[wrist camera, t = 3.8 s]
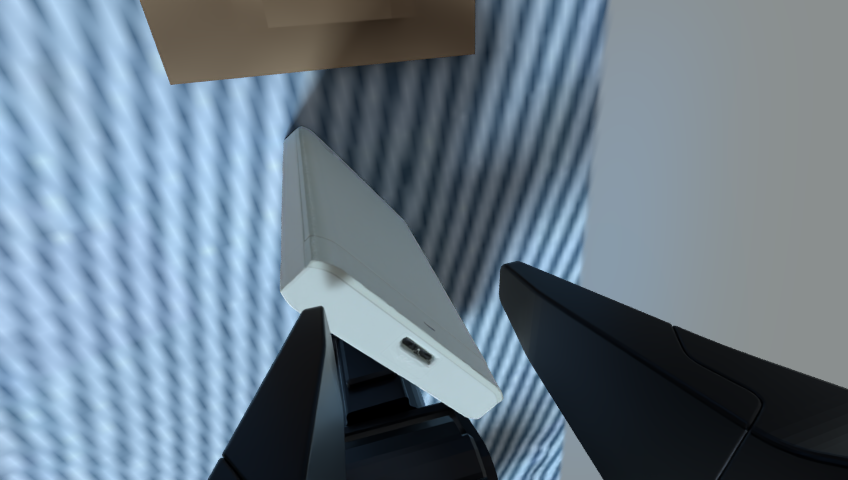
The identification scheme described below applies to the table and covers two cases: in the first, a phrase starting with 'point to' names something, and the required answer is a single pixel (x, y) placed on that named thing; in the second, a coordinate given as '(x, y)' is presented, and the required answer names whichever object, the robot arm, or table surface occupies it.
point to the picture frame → (302, 34)
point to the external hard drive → (373, 279)
